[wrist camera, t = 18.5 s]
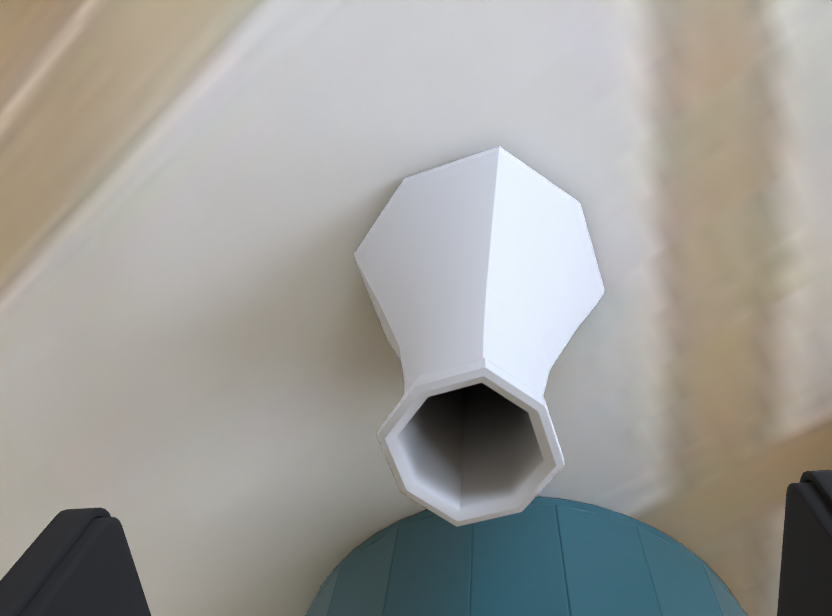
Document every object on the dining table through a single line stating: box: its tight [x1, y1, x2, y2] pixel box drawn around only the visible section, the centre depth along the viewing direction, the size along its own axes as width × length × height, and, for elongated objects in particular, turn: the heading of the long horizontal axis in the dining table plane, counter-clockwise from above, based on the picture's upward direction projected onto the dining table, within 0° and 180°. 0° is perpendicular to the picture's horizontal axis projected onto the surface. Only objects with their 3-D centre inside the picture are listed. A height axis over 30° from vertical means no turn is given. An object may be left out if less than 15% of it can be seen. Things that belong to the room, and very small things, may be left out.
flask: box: [353, 146, 605, 527], centre depth 18 cm, size 7×7×10 cm
